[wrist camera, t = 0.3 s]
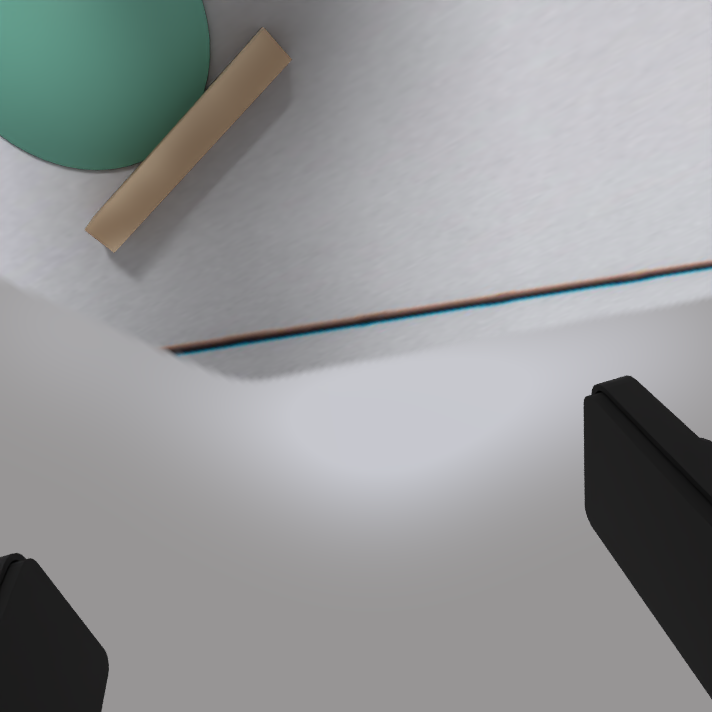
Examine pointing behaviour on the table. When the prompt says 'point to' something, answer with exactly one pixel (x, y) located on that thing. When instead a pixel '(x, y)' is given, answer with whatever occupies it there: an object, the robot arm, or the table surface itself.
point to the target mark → (99, 76)
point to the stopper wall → (189, 140)
